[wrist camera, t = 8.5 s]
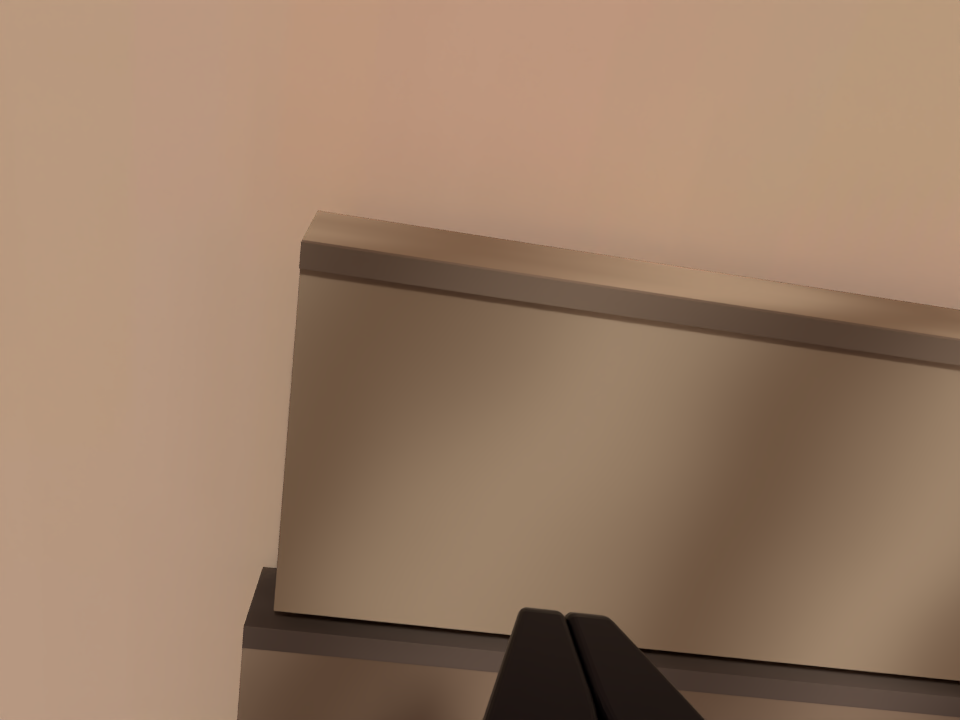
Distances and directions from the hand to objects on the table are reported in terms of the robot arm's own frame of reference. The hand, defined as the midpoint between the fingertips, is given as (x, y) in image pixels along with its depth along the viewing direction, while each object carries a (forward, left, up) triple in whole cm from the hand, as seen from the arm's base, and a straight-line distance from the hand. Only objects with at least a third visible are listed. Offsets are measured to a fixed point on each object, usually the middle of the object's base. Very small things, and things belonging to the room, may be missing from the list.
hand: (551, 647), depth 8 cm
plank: (-5, +1, -7) cm, 9 cm away
